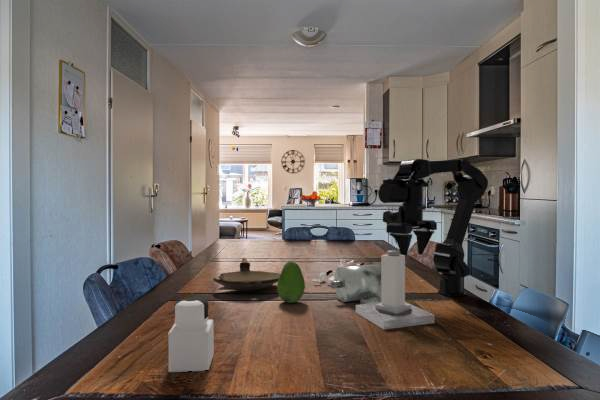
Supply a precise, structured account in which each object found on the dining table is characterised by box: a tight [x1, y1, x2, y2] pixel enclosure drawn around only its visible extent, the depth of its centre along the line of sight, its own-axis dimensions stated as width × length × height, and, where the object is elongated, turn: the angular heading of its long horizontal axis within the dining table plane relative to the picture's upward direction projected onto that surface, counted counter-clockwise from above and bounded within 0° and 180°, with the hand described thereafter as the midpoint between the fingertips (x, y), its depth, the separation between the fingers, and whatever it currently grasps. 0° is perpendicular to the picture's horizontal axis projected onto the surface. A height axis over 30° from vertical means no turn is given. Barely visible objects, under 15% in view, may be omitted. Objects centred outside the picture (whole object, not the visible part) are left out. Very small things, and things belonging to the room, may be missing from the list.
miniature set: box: [311, 257, 365, 286], centre depth 149 cm, size 6×35×12 cm
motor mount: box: [330, 263, 435, 331], centre depth 108 cm, size 16×30×10 cm, turn 19°
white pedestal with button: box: [375, 249, 412, 314], centre depth 101 cm, size 6×6×14 cm
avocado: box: [276, 260, 306, 304], centre depth 115 cm, size 8×8×12 cm
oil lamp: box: [212, 257, 281, 292], centre depth 133 cm, size 22×30×8 cm
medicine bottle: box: [167, 296, 215, 373], centre depth 74 cm, size 7×7×12 cm
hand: (412, 256), depth 116 cm, fingers open, 9 cm apart
